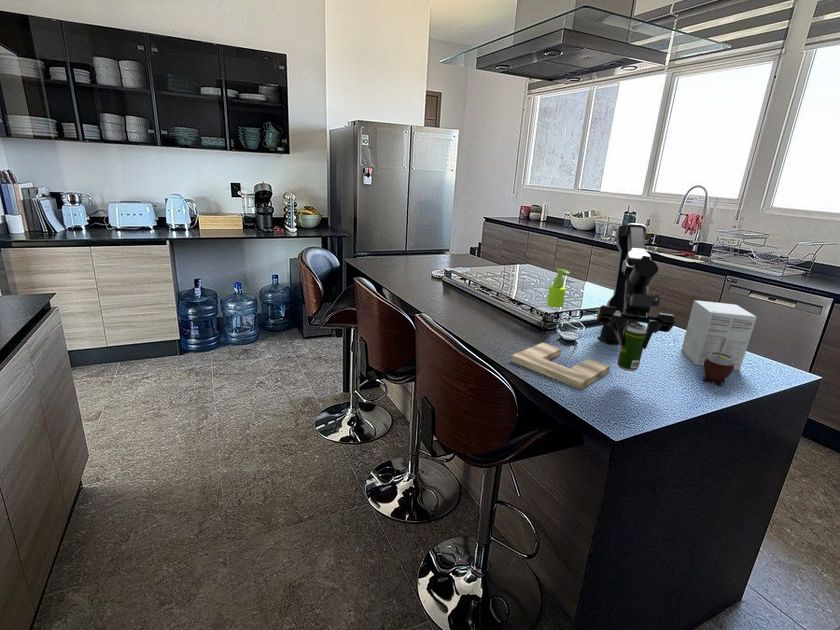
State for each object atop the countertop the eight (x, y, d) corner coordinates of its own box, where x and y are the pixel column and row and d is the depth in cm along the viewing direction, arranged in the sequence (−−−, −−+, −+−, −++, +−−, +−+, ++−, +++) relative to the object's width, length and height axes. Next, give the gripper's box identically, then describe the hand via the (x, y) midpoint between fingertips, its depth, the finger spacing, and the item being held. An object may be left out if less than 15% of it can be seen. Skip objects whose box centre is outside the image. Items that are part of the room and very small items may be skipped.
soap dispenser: (553, 324, 170) (562, 272, 164) (541, 318, 176) (549, 267, 170) (565, 323, 173) (574, 271, 166) (552, 317, 179) (561, 266, 172)
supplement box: (741, 371, 140) (758, 317, 134) (694, 365, 142) (710, 311, 136) (722, 354, 152) (737, 304, 147) (680, 349, 154) (693, 299, 149)
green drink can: (642, 370, 123) (652, 328, 120) (628, 373, 121) (638, 330, 117) (626, 362, 128) (635, 321, 124) (612, 364, 126) (621, 323, 122)
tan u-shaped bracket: (542, 348, 147) (543, 342, 146) (608, 372, 133) (610, 366, 132) (511, 361, 136) (512, 355, 135) (580, 389, 121) (582, 382, 120)
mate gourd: (717, 376, 135) (731, 328, 130) (735, 389, 127) (751, 339, 123) (693, 375, 134) (706, 327, 130) (710, 388, 127) (725, 337, 122)
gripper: (606, 276, 123) (601, 328, 116) (682, 285, 118) (682, 340, 112) (598, 296, 133) (593, 345, 126) (668, 305, 128) (667, 357, 122)
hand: (633, 346), depth 121 cm, fingers closed on green drink can, 5 cm apart
